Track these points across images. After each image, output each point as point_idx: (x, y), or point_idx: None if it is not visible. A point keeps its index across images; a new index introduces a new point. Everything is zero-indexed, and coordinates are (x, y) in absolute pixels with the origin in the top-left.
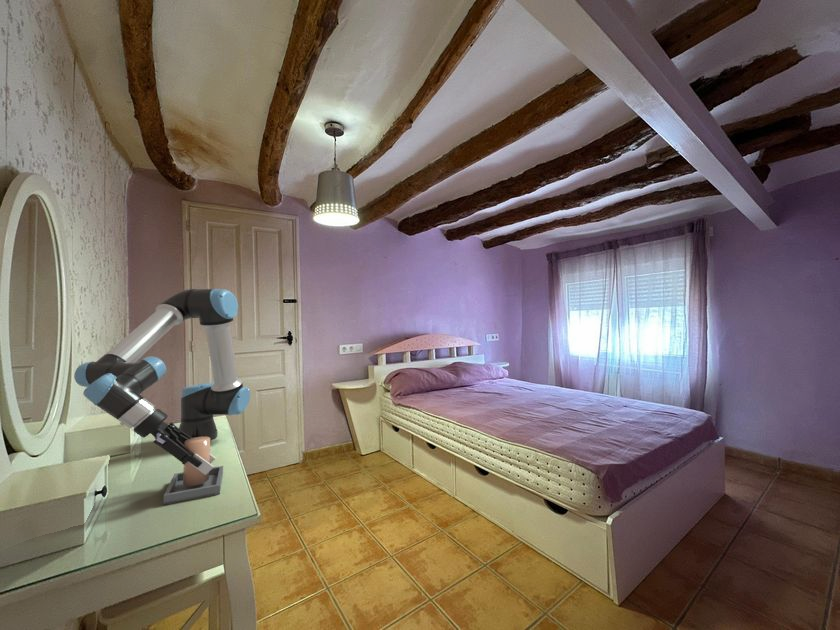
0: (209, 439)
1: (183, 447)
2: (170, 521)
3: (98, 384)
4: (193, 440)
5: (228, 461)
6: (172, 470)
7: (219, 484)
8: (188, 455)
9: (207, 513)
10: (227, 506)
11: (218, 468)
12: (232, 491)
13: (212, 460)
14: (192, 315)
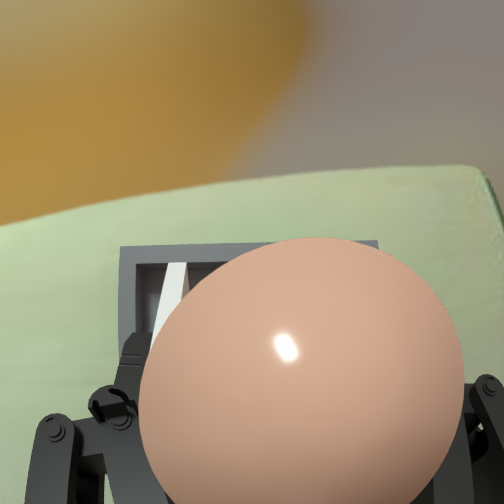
0: (356, 243)
1: (466, 477)
2: (471, 370)
3: None
4: (322, 468)
5: (6, 247)
6: (16, 456)
7: (368, 242)
8: (499, 390)
9: (463, 274)
10: (441, 221)
11: (137, 269)
12: (344, 208)
13: (188, 283)
14: None
